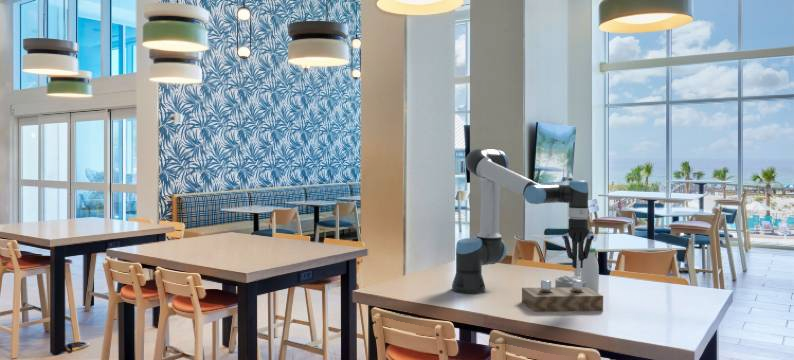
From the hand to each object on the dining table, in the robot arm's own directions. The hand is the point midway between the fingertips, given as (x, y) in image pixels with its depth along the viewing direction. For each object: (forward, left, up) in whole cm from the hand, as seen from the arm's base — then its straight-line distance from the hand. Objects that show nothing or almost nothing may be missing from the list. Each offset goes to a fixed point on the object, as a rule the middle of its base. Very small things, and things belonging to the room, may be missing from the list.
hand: (577, 275), depth 234 cm
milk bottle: (+16, +26, -13) cm, 33 cm away
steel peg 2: (0, 0, -8) cm, 8 cm away
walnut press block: (-7, 0, -13) cm, 14 cm away
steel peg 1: (-13, 0, -8) cm, 15 cm away
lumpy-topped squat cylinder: (+3, +17, -13) cm, 21 cm away
